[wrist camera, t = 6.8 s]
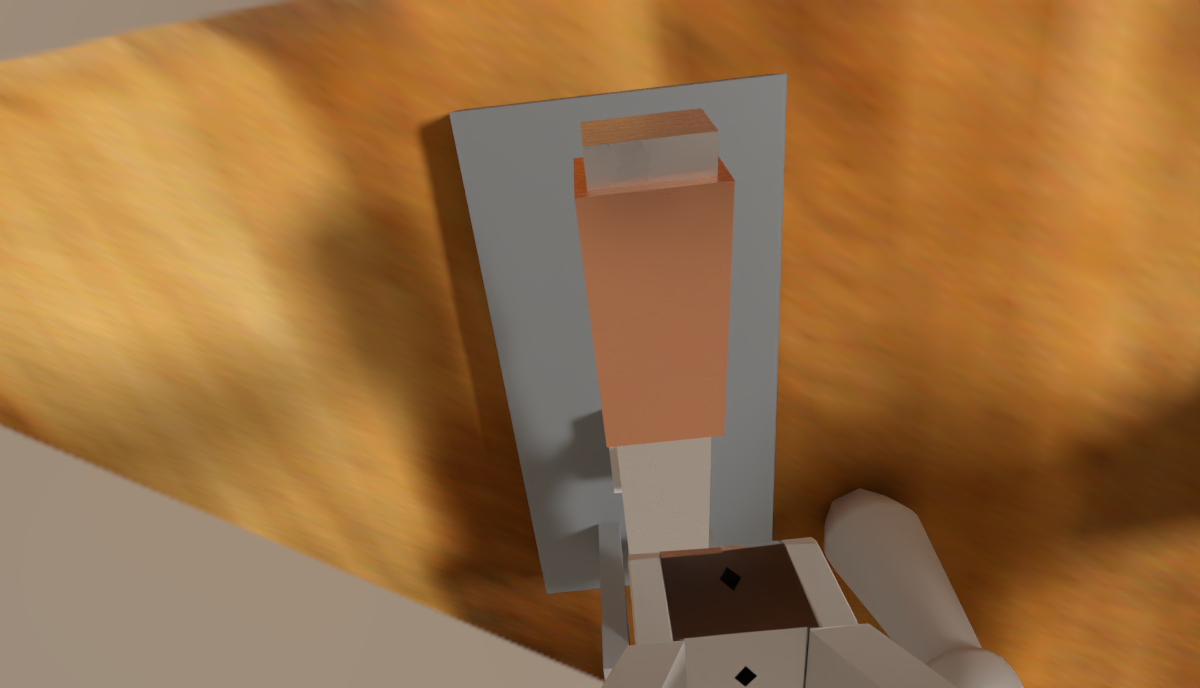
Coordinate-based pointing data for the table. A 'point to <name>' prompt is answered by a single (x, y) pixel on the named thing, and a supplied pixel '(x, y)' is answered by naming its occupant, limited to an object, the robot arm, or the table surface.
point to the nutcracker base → (563, 329)
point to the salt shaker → (908, 588)
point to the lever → (658, 311)
